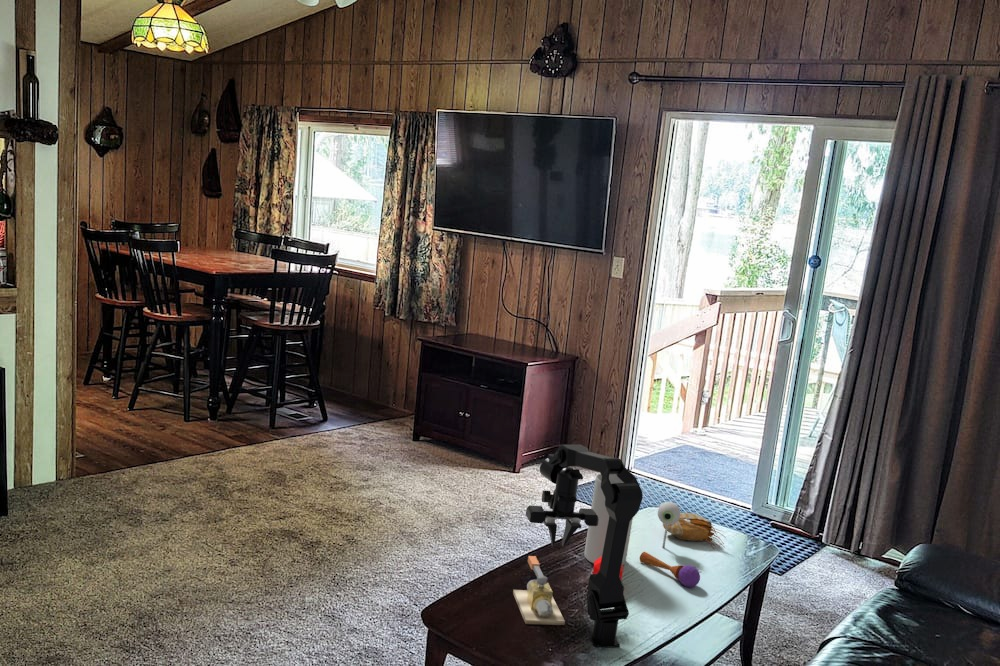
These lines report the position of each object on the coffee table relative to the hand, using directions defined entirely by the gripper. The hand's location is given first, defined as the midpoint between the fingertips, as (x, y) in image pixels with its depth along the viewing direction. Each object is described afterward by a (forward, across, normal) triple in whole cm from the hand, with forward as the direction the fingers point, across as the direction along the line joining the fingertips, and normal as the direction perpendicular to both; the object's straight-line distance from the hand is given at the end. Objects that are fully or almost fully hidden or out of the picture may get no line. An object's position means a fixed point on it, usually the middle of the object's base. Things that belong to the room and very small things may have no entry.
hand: (557, 545), depth 230 cm
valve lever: (+6, +6, +4) cm, 9 cm away
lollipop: (+13, -45, -33) cm, 57 cm away
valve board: (+13, +6, +10) cm, 17 cm away
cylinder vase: (+13, -22, -22) cm, 34 cm away
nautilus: (+13, -58, -40) cm, 72 cm away
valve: (+13, +6, +10) cm, 17 cm away
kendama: (+13, -39, -13) cm, 43 cm away
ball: (+13, -17, -5) cm, 22 cm away
